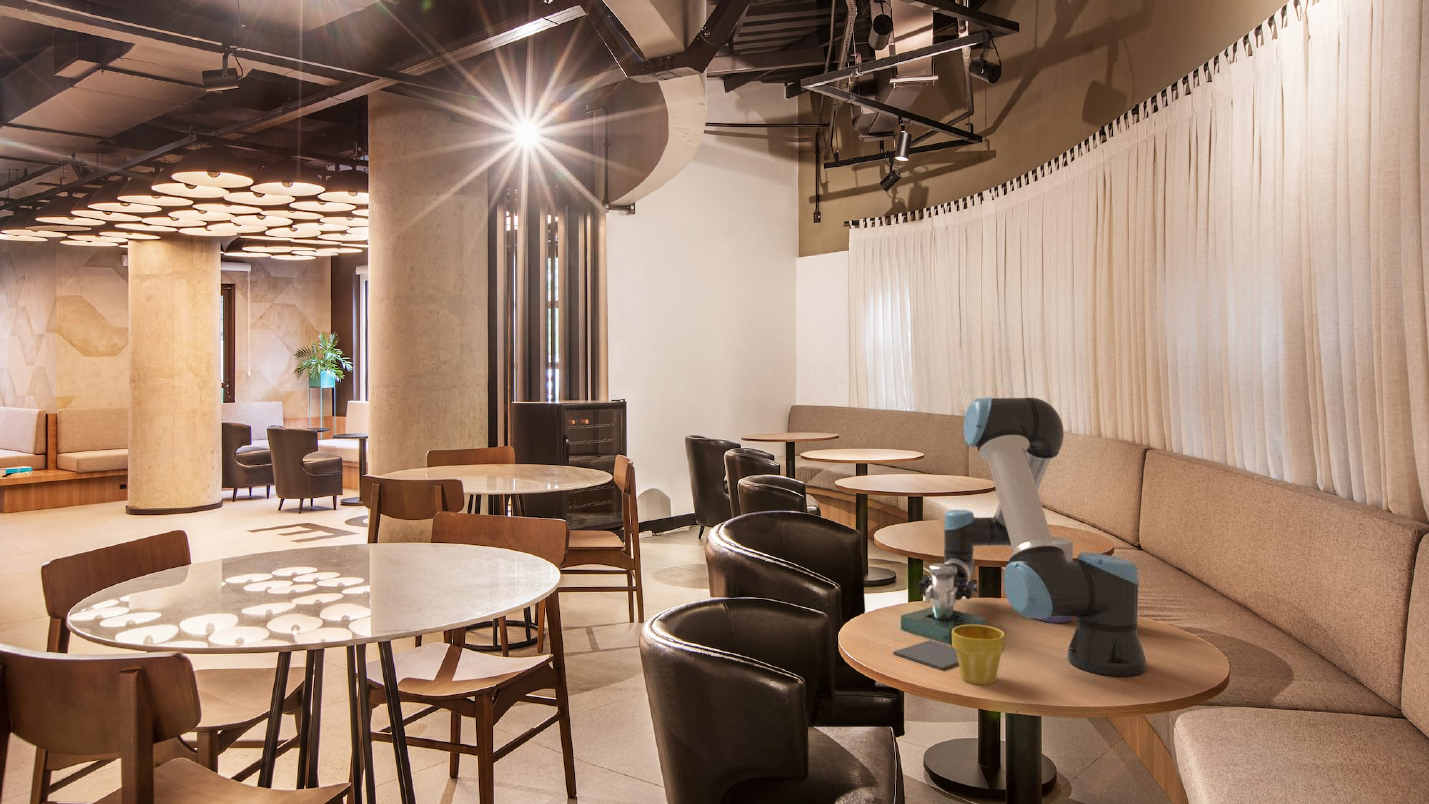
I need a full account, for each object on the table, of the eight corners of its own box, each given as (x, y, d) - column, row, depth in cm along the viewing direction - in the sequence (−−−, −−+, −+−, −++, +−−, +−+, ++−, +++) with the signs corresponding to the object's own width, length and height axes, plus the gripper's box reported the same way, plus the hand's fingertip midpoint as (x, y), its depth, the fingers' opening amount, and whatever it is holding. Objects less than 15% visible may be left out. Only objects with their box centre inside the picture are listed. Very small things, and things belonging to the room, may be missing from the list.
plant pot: (946, 682, 171) (946, 634, 171) (957, 667, 180) (957, 621, 180) (999, 692, 166) (1000, 642, 166) (1008, 675, 175) (1009, 628, 175)
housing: (985, 632, 204) (985, 618, 204) (949, 644, 195) (949, 629, 195) (936, 619, 215) (936, 605, 215) (900, 629, 206) (900, 615, 206)
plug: (961, 629, 204) (962, 566, 204) (945, 634, 200) (946, 570, 200) (939, 622, 209) (940, 562, 209) (923, 627, 205) (923, 565, 205)
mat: (978, 657, 186) (978, 654, 186) (942, 670, 178) (942, 667, 178) (930, 642, 196) (930, 640, 196) (893, 654, 188) (893, 651, 188)
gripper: (989, 594, 217) (979, 618, 196) (917, 587, 224) (900, 610, 203) (989, 565, 217) (979, 586, 196) (918, 559, 224) (900, 578, 203)
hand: (939, 598), depth 199 cm, fingers closed on plug, 5 cm apart
